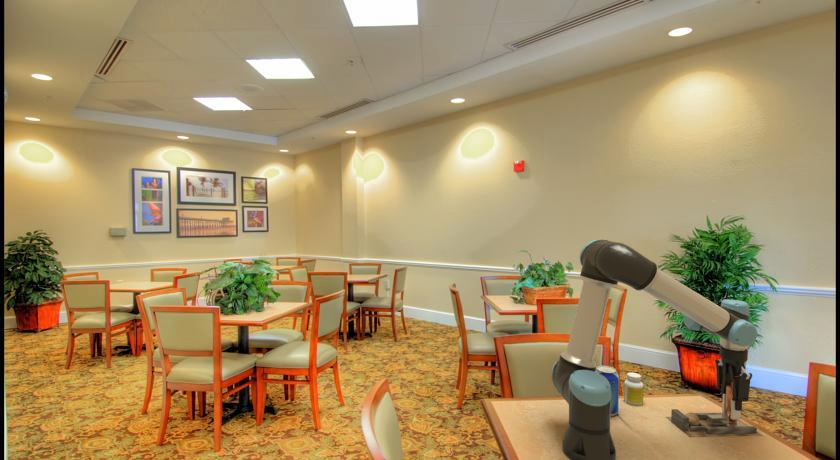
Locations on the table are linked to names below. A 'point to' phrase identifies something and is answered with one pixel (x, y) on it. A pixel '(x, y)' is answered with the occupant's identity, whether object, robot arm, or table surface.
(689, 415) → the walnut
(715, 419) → the lever handle
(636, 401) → the pill bottle
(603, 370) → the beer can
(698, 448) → the table surface
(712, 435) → the base
